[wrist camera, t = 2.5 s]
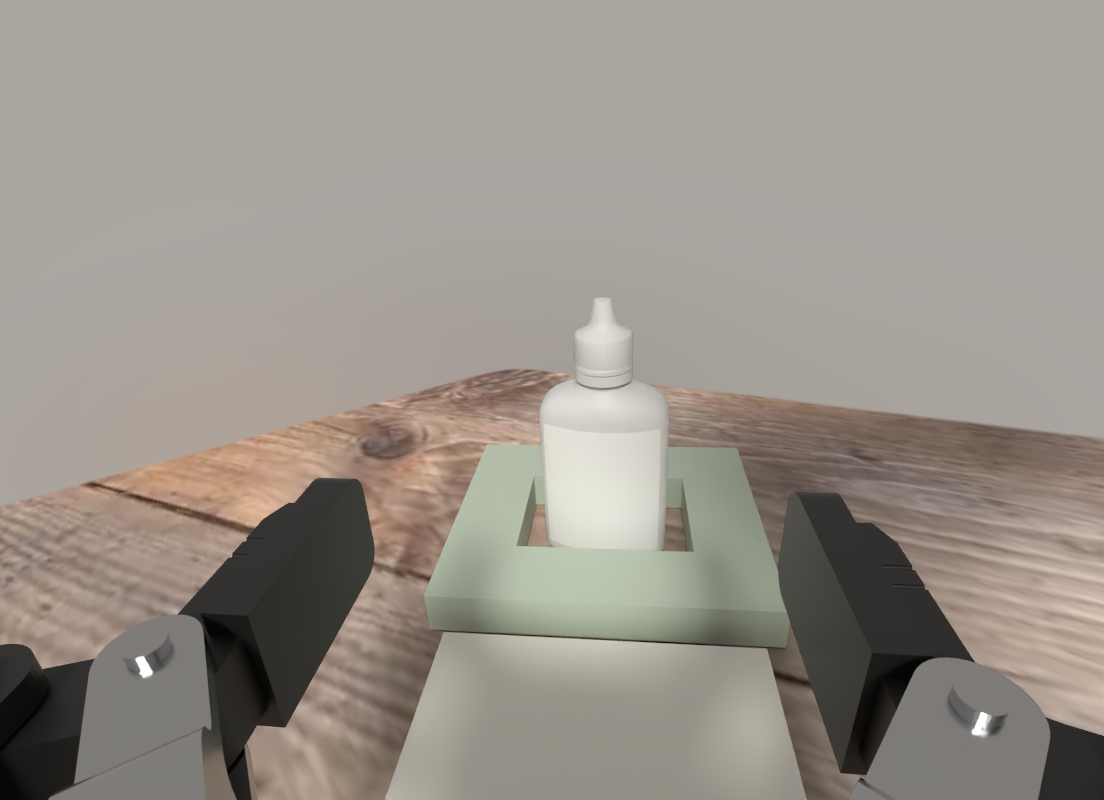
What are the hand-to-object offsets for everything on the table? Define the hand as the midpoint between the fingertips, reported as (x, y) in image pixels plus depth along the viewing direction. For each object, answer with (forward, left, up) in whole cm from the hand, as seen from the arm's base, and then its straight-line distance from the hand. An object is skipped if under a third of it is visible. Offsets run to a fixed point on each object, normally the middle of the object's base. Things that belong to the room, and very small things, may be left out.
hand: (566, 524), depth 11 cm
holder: (0, -14, -12) cm, 18 cm away
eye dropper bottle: (0, -14, -12) cm, 18 cm away
